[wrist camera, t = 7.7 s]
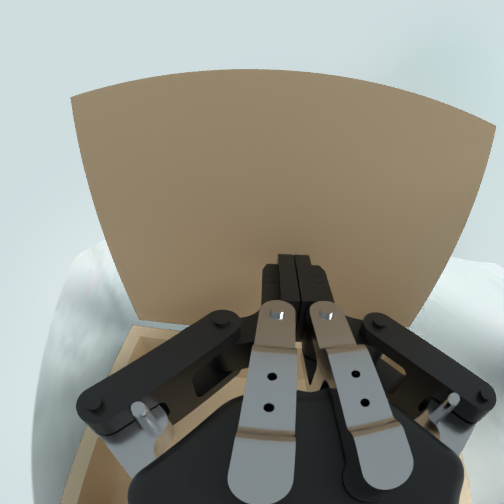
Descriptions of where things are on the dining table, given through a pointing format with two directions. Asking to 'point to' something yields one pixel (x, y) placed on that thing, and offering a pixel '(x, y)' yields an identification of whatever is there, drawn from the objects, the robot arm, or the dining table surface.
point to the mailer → (111, 471)
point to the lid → (277, 187)
